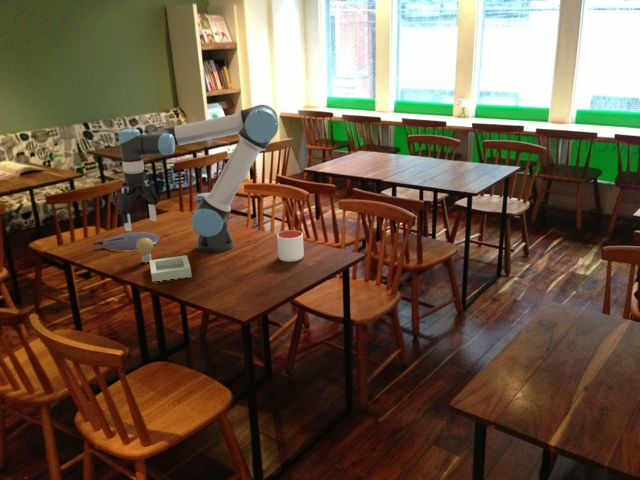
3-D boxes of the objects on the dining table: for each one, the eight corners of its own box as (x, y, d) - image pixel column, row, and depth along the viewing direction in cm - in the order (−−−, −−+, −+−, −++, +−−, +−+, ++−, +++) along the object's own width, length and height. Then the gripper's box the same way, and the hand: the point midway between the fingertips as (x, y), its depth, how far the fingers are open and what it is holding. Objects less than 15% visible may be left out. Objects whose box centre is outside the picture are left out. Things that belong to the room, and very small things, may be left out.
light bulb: (146, 266, 227) (143, 241, 223) (135, 263, 230) (131, 239, 227) (158, 260, 232) (155, 237, 228) (147, 258, 235) (144, 234, 232)
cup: (308, 255, 232) (307, 231, 229) (296, 264, 223) (295, 239, 220) (285, 252, 236) (284, 228, 233) (273, 261, 228) (272, 236, 224)
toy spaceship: (90, 257, 239) (89, 249, 238) (97, 238, 261) (95, 231, 260) (160, 249, 245) (159, 242, 244) (161, 232, 267) (160, 225, 266)
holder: (187, 263, 228) (186, 255, 227) (191, 276, 215) (190, 268, 214) (150, 268, 224) (149, 260, 223) (152, 282, 211) (151, 273, 210)
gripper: (149, 163, 231) (156, 215, 238) (101, 177, 210) (109, 233, 217) (164, 165, 227) (170, 217, 234) (116, 179, 206) (124, 236, 214)
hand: (141, 225), depth 226 cm, fingers open, 13 cm apart
